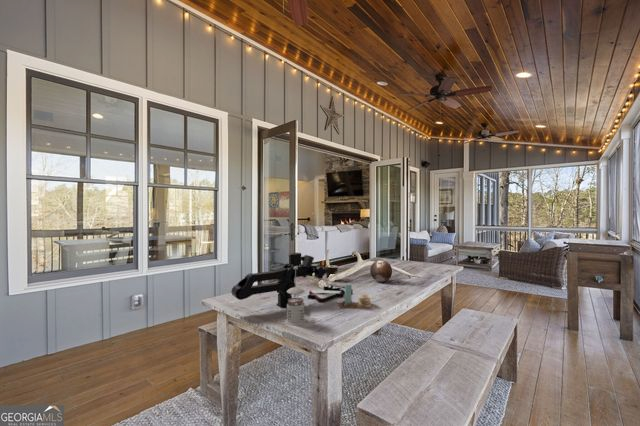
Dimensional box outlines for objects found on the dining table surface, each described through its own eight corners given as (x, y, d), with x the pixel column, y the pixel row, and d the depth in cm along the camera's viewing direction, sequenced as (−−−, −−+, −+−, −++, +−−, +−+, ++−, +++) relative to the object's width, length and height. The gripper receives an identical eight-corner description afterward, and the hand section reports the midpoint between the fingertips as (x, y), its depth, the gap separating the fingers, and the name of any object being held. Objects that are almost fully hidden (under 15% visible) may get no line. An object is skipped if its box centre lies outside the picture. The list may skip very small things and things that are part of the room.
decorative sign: (356, 288, 183) (325, 300, 160) (356, 294, 184) (325, 306, 160) (331, 283, 195) (299, 293, 172) (331, 289, 195) (299, 300, 172)
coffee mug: (329, 282, 211) (329, 268, 210) (323, 279, 218) (323, 265, 218) (343, 280, 216) (343, 266, 216) (337, 278, 224) (337, 264, 224)
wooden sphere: (370, 283, 207) (370, 261, 207) (369, 278, 222) (369, 258, 222) (393, 284, 205) (393, 262, 205) (391, 279, 220) (391, 258, 219)
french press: (284, 325, 134) (284, 268, 133) (285, 316, 145) (285, 263, 145) (306, 325, 134) (306, 268, 134) (306, 315, 146) (306, 263, 145)
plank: (345, 306, 156) (345, 284, 156) (344, 304, 158) (344, 283, 158) (351, 306, 156) (351, 284, 156) (350, 304, 159) (350, 283, 159)
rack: (339, 311, 152) (339, 300, 152) (337, 305, 162) (337, 294, 162) (371, 310, 153) (371, 299, 153) (366, 304, 163) (366, 293, 163)
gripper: (309, 259, 159) (333, 256, 167) (292, 254, 174) (315, 252, 183) (309, 280, 159) (333, 277, 168) (292, 274, 174) (315, 271, 183)
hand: (324, 268), depth 175 cm, fingers open, 9 cm apart
